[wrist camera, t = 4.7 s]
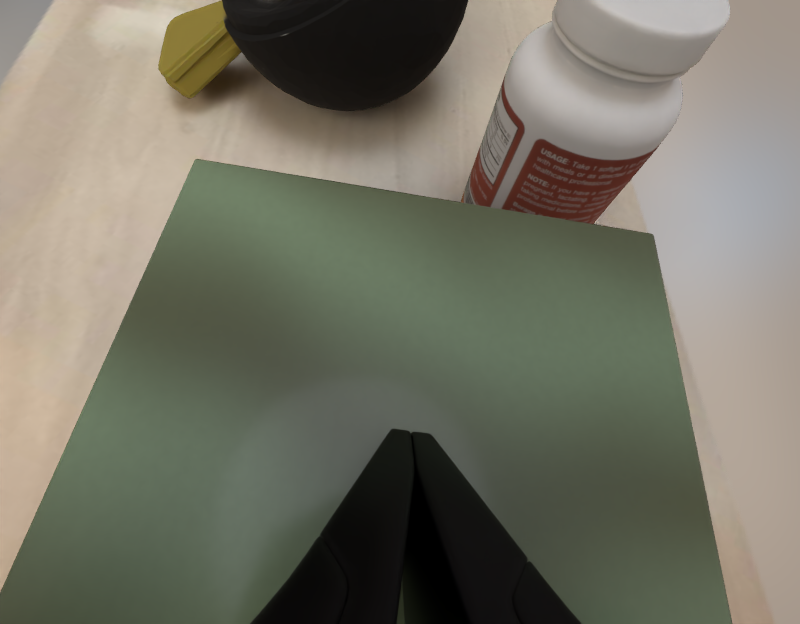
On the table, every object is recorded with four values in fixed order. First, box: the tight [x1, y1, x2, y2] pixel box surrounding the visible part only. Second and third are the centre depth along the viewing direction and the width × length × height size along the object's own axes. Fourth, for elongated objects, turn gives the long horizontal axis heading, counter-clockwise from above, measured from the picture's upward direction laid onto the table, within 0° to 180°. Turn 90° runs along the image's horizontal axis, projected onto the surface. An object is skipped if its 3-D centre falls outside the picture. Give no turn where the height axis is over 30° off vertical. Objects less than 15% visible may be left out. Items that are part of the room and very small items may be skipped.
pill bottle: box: [461, 0, 730, 224], centre depth 17 cm, size 6×6×11 cm
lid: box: [0, 159, 732, 624], centre depth 10 cm, size 12×14×1 cm
